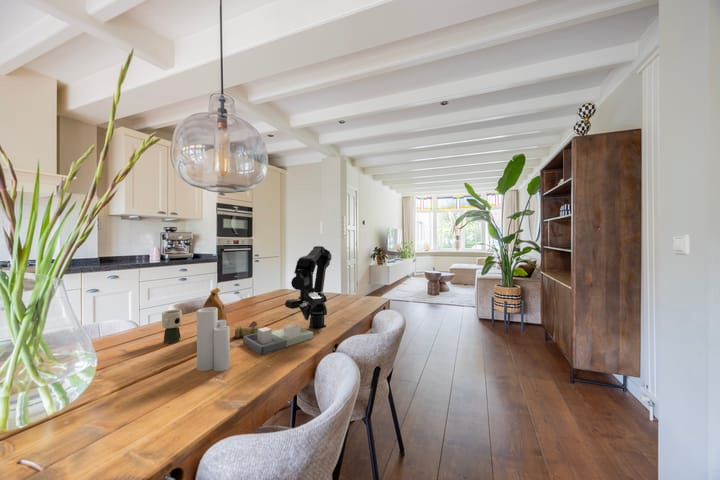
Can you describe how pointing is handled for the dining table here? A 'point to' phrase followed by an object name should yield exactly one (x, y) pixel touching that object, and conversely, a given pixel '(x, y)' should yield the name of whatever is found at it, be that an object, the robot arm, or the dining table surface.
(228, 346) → the vase
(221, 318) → the coffee package
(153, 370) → the dining table surface
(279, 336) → the board
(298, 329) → the light grey block
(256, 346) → the tray
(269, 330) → the white square block
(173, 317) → the character mug
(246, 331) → the gavel
